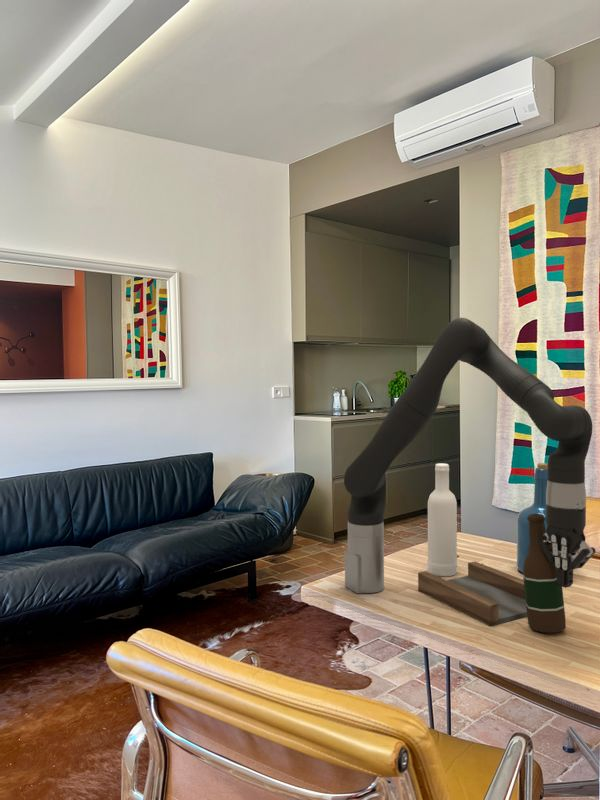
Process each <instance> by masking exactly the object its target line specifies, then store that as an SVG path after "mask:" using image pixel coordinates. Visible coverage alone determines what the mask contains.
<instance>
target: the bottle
mask: <svg viewBox="0 0 600 800" xmlns="http://www.w3.org/2000/svg"><path fill="white" fill-rule="evenodd" d="M434 467H435V468H434V473H435V480H434V481H435V483H434V484H435V487H434V490H433V491H432V492H431V493H430V495H429V496H428V497H429V498H428V500H427V572H429V573H431V574H434V575H436V576H438V577H444V578H445V577H452V576H455V575H456V574H457V570H458V569H457V568H458V558H457V555H458V551H457V550H458V544H457V542H458V539H457V538H458V526H457V525H458V523H457V522H458V517H457V515H458V513H457V512H458V511H457V510H458V502H457V499H456V496H455V494H454V493H453V492H452V491H451V490H450V465H449V464H448V463H441V462H440V463H435V466H434Z"/></svg>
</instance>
